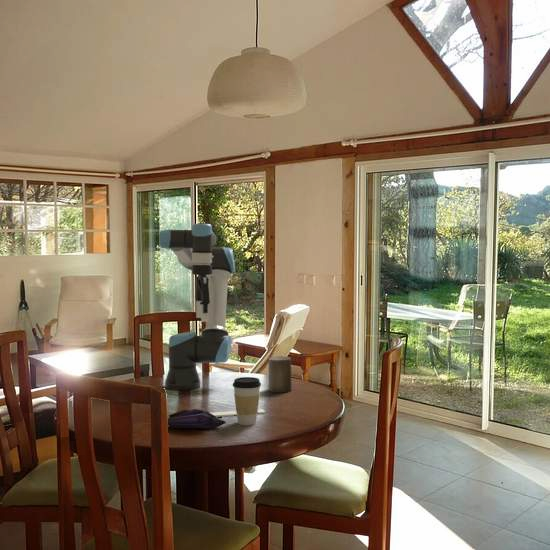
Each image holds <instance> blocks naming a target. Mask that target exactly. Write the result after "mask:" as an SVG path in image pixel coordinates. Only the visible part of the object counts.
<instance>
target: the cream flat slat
mask: <svg viewBox="0 0 550 550" xmlns="http://www.w3.org/2000/svg"><path fill="white" fill-rule="evenodd" d="M210 413H211V414H213V415H214V416H216V418H217V417H220V416H223V417H234V415H237V413H236V410H231V411H217V412H210ZM263 413H265V414H266V411H265V410H264V409H263V408H260V409H259V408H258V412H257V415H259V414H260V415H264V414H263Z"/></svg>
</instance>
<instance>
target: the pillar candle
mask: <svg viewBox="0 0 550 550" xmlns="http://www.w3.org/2000/svg"><path fill="white" fill-rule="evenodd" d="M268 391H270V392H272V393H288V392H287V391H289V392H291V391H292V358H291V357H290V356H285V355H284V356H282V355H278V356H271V357H268Z"/></svg>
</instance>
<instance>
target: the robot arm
mask: <svg viewBox="0 0 550 550" xmlns="http://www.w3.org/2000/svg"><path fill="white" fill-rule="evenodd" d="M216 243H217V236H216V234H215V233H214V232H213V228H212V224H210V223H194V224H192V226H191V229H170V228H169V229H162V230H160V231H159V233H158V244H159V247H160V248H161V249H165V250H171V252H172V253H173V254H175V256H176V257H177V261H178V263H179V264H180V265H181V266H182V267H184V268H185V269H187V270H189V271H191V273H192V275H193V276H196V277H195V278H196V282H195V283H196V284H195V297H194V298H195V301H196V302H195V305H196V306H195V307H196V308H195V310H196V311H195V313H196V314H195V315H196V316H195V317H196V319H200V322H201V323H205V328H203V329H202V330H201V335H197V333H196V332H195V331H186V332H181V333H176V334H172V335H171V336H170V337H169V339H168V347H167V348H168V372H167V375H166V377H165V381H164V388H166V389H167V390H172V391H189V390H195V389H198V388H200V387H201V379H200V376H199V373H198V370H197V364H198V363H200V364H201V363H203V364H205V363H206V364H220V363H222V364H223V363H224V364H225V363H226V362H227V363H228V361H229V358H230V356H231V351H232V342H233V341H232V340H233V339H232V336H230V334H229V331H228V330H227V329H226V321H227V319H226V318H227V299H228V283H229V282H228V280H230V279H231V278H232V274H233V273H235V272H236V267H235V266H236V265H235V257H234V256H235V255H234V251H233V249H232V248H231V247H224V246H219V247H215V245H216Z"/></svg>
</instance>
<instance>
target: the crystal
mask: <svg viewBox="0 0 550 550" xmlns="http://www.w3.org/2000/svg"><path fill="white" fill-rule="evenodd" d="M211 413H212V412H210V411H208V410H201V409H197V408H194V409H190V410H188V409H182V410H180V411H176V412H174V413H172V414H168V418H167V419H168V425H169V427H170V428H169V427H168V428H169V429H197V428H200V429H201V430H202V429H203V430H204V429H205V430H206V429H207V430H213V429H216V428H218V427H220V426H222V425H225V424H226V421H224V420H223V417H222V416H220V417H216V416H214V415H213V414H211ZM168 425H167V426H168Z"/></svg>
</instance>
